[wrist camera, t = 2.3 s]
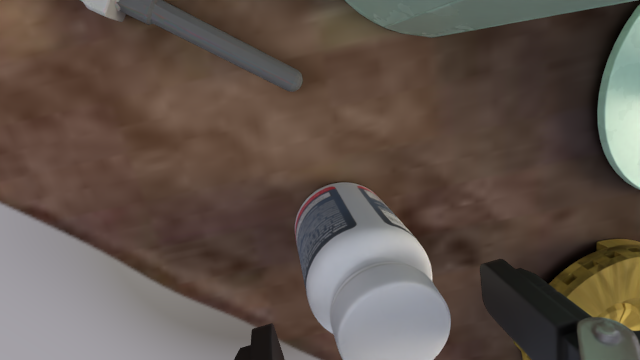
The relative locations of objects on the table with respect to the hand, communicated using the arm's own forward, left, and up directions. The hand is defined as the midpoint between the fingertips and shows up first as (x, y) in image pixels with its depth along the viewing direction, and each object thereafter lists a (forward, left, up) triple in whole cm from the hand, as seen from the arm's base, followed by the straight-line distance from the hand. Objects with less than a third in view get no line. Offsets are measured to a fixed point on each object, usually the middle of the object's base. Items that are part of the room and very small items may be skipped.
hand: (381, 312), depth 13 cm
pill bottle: (0, 0, -8) cm, 8 cm away
